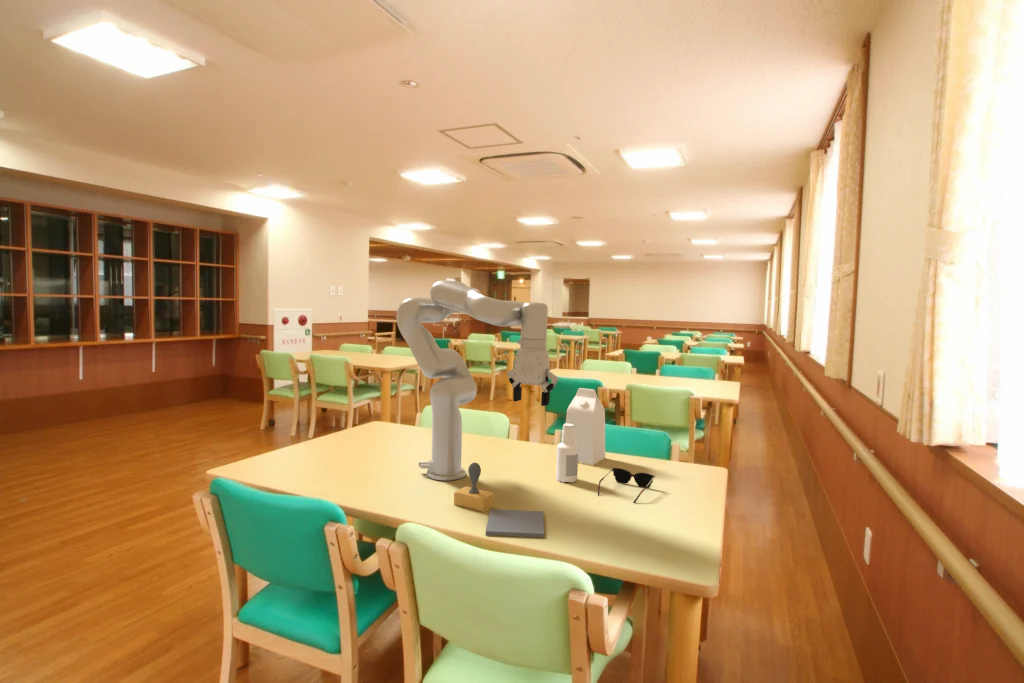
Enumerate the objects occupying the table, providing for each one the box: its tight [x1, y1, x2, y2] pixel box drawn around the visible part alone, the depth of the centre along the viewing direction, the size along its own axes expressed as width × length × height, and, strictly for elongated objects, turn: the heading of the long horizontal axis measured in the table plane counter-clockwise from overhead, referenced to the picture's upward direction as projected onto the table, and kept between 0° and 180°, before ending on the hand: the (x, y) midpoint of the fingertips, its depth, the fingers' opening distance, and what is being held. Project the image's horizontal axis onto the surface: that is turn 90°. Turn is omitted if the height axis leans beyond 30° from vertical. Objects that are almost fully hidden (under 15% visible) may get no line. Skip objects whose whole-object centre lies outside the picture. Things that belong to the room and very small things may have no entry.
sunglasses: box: [597, 467, 656, 504], centre depth 158 cm, size 14×16×5 cm
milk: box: [565, 387, 606, 466], centre depth 192 cm, size 12×12×26 cm
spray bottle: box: [555, 423, 579, 483], centre depth 168 cm, size 7×7×18 cm
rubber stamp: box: [453, 462, 495, 513], centre depth 144 cm, size 10×6×12 cm, turn 60°
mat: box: [485, 508, 545, 539], centre depth 132 cm, size 14×14×1 cm
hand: (530, 402), depth 154 cm, fingers open, 9 cm apart
